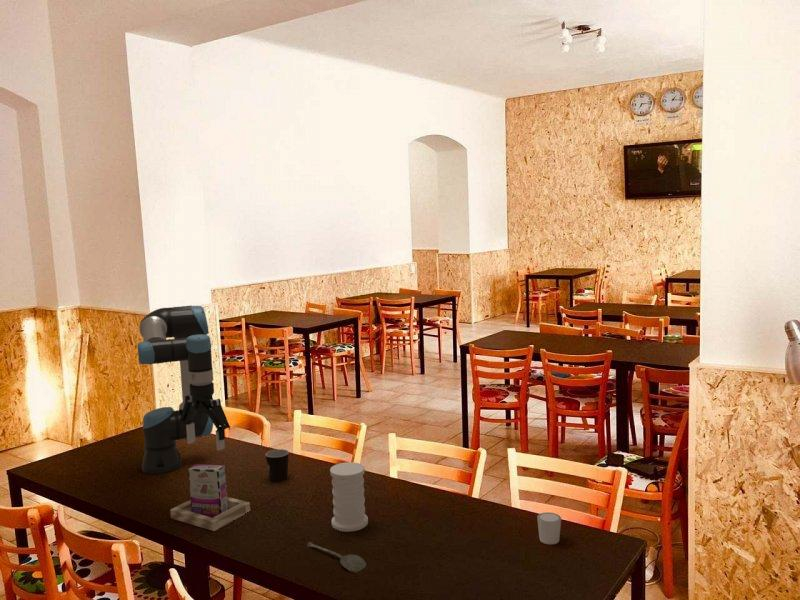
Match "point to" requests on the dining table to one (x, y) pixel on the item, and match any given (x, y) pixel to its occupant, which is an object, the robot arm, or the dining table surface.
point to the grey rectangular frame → (187, 516)
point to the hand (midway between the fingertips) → (205, 446)
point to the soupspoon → (346, 559)
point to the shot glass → (549, 527)
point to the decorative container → (348, 497)
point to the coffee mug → (277, 464)
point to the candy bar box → (208, 489)
